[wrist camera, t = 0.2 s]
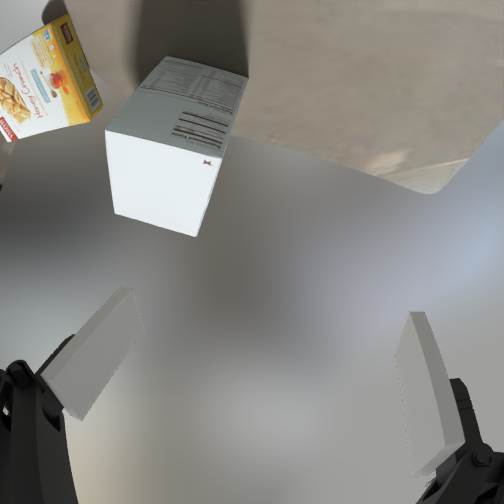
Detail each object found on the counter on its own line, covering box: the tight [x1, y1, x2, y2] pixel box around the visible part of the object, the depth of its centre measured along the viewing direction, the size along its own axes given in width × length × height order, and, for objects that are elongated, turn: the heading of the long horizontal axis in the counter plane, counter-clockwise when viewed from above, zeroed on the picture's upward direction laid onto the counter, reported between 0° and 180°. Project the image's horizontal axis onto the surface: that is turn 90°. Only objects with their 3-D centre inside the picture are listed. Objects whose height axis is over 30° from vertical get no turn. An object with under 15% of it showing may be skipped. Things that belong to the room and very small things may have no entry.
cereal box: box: [0, 14, 103, 142], centre depth 34 cm, size 20×6×28 cm
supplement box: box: [105, 56, 248, 236], centre depth 38 cm, size 17×13×18 cm
